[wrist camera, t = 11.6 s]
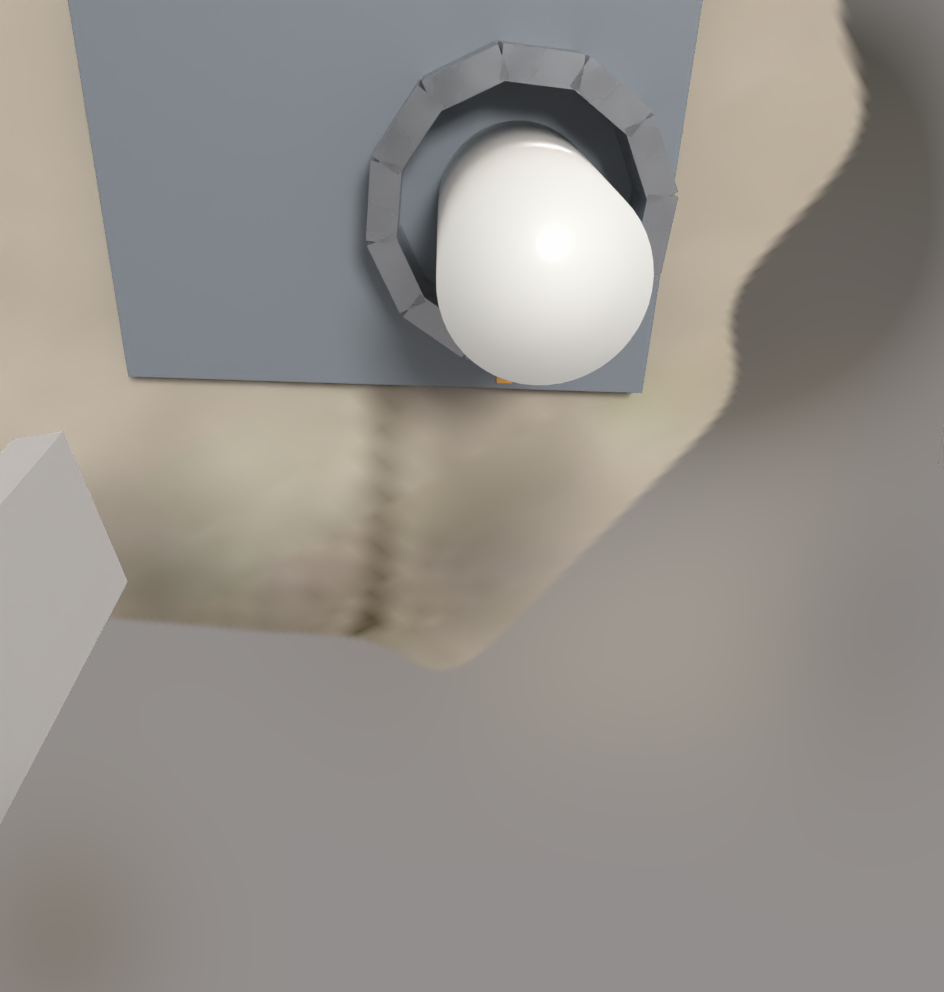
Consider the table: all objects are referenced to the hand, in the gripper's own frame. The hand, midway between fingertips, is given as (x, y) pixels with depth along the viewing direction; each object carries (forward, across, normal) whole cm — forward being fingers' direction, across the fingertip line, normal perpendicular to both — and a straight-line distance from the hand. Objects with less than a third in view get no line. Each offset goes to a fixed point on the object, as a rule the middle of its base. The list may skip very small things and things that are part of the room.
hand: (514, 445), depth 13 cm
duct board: (+21, -3, 0) cm, 21 cm away
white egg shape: (+20, +2, -1) cm, 20 cm away
